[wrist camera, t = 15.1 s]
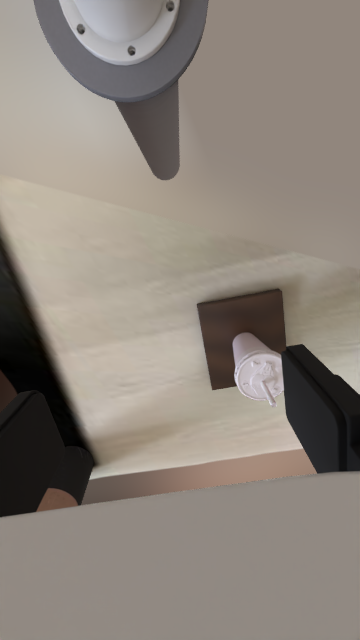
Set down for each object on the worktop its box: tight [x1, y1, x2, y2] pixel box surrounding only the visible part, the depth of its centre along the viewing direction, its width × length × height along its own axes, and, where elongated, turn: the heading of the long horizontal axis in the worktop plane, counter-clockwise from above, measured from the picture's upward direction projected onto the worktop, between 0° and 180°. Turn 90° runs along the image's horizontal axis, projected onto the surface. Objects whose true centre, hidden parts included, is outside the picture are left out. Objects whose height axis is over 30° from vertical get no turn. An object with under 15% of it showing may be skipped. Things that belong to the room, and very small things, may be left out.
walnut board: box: [197, 289, 286, 390], centre depth 42 cm, size 14×12×2 cm
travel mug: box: [36, 446, 93, 512], centre depth 41 cm, size 8×8×20 cm
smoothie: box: [233, 333, 284, 407], centre depth 35 cm, size 6×6×14 cm
